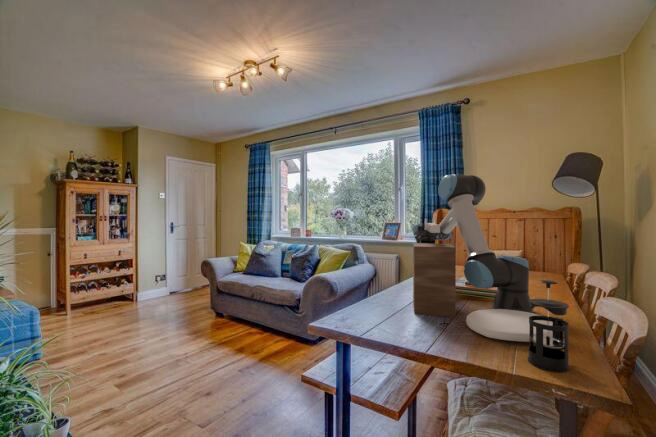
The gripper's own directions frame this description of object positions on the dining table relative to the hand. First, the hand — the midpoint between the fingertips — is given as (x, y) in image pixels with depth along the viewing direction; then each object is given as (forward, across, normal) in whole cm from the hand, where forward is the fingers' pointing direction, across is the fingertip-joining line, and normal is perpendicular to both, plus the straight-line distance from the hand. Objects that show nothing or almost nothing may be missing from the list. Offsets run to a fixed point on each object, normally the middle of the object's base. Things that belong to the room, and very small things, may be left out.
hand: (430, 221), depth 145 cm
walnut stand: (-10, 0, -39) cm, 40 cm away
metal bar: (+3, 0, -7) cm, 8 cm away
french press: (+29, -27, -61) cm, 72 cm away
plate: (+8, -24, -49) cm, 55 cm away
